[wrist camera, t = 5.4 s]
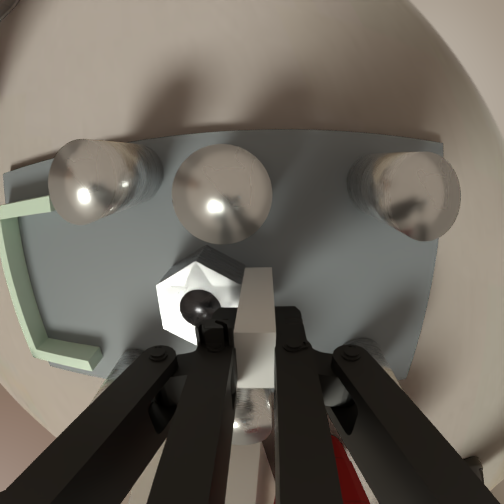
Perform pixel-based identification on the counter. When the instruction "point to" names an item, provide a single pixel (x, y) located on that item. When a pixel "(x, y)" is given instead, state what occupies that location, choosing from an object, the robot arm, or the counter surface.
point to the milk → (239, 477)
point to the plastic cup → (347, 477)
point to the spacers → (245, 213)
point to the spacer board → (236, 251)
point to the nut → (198, 290)
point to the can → (7, 7)
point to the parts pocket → (13, 261)
